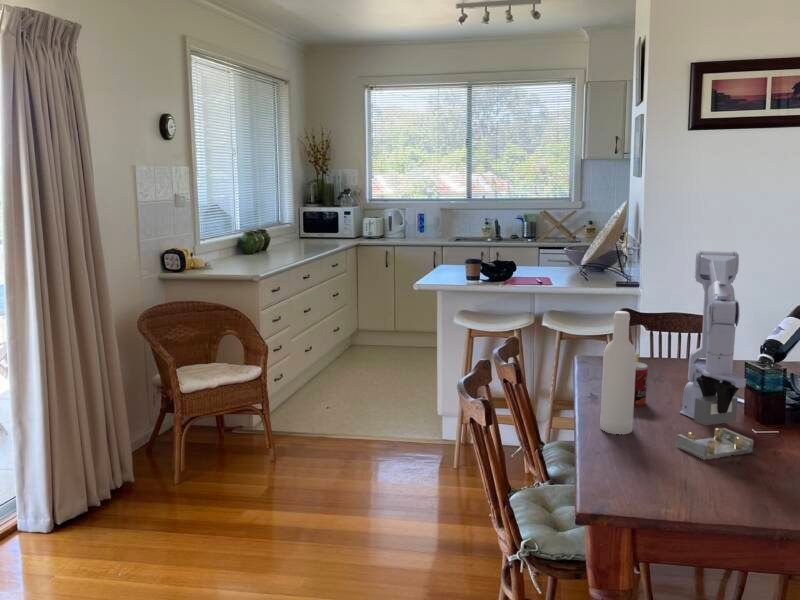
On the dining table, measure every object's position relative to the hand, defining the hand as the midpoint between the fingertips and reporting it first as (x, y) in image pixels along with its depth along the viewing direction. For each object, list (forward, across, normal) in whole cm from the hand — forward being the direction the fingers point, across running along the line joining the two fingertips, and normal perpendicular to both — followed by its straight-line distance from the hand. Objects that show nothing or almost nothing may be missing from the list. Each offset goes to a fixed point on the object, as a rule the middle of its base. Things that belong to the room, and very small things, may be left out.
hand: (715, 410), depth 175 cm
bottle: (+10, -19, -13) cm, 25 cm away
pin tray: (+10, 0, 0) cm, 10 cm away
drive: (+3, 0, 0) cm, 3 cm away
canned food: (+10, -37, +5) cm, 39 cm away
